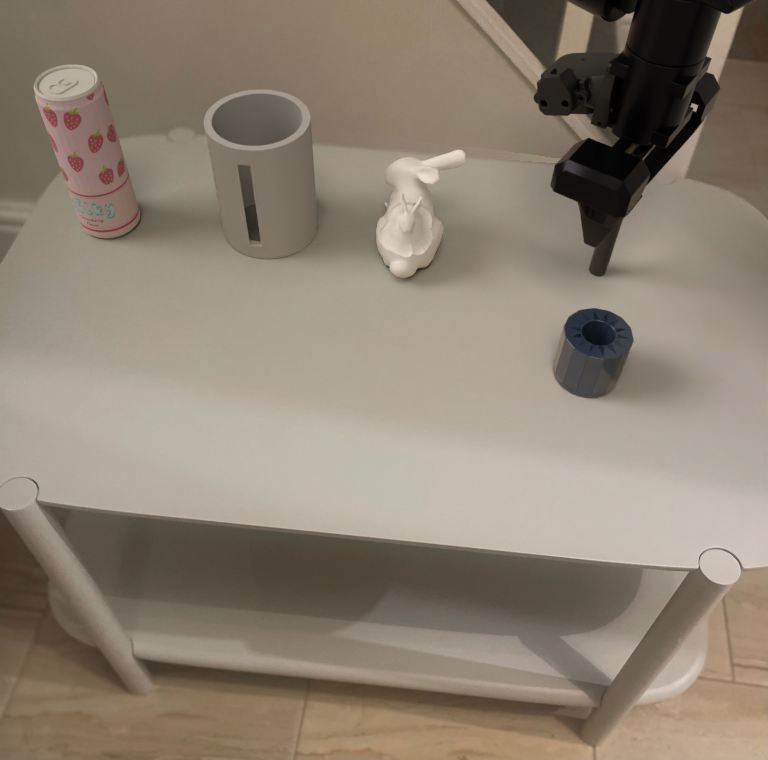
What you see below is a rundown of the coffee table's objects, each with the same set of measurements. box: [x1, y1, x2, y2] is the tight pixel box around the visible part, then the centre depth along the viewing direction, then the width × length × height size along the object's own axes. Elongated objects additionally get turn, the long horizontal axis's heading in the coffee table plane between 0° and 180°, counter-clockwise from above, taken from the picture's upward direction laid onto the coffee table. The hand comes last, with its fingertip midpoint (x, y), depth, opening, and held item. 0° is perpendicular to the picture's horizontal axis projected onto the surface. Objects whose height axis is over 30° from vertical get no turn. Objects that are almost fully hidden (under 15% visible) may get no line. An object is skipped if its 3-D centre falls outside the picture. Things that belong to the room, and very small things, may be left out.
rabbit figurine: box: [375, 149, 467, 279], centre depth 72 cm, size 12×8×10 cm, turn 173°
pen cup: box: [552, 307, 635, 399], centre depth 65 cm, size 5×6×5 cm
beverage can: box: [33, 63, 141, 239], centre depth 72 cm, size 6×6×15 cm
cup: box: [203, 88, 319, 260], centre depth 73 cm, size 9×9×12 cm
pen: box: [588, 220, 623, 277], centre depth 71 cm, size 2×2×9 cm
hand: (613, 216), depth 69 cm, fingers open, 9 cm apart
